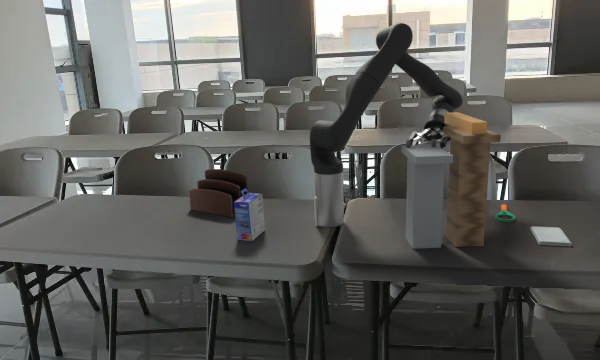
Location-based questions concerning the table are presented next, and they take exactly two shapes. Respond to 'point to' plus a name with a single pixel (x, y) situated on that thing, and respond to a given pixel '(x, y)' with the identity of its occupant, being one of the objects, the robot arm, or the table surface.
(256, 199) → the ink cartridge box
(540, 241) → the hard drive
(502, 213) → the magnifying glass
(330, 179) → the robot arm
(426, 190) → the tall gray pegged stand
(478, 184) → the tall walnut stand
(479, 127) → the orange bar
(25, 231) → the table surface
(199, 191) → the letter holder
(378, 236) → the table surface
